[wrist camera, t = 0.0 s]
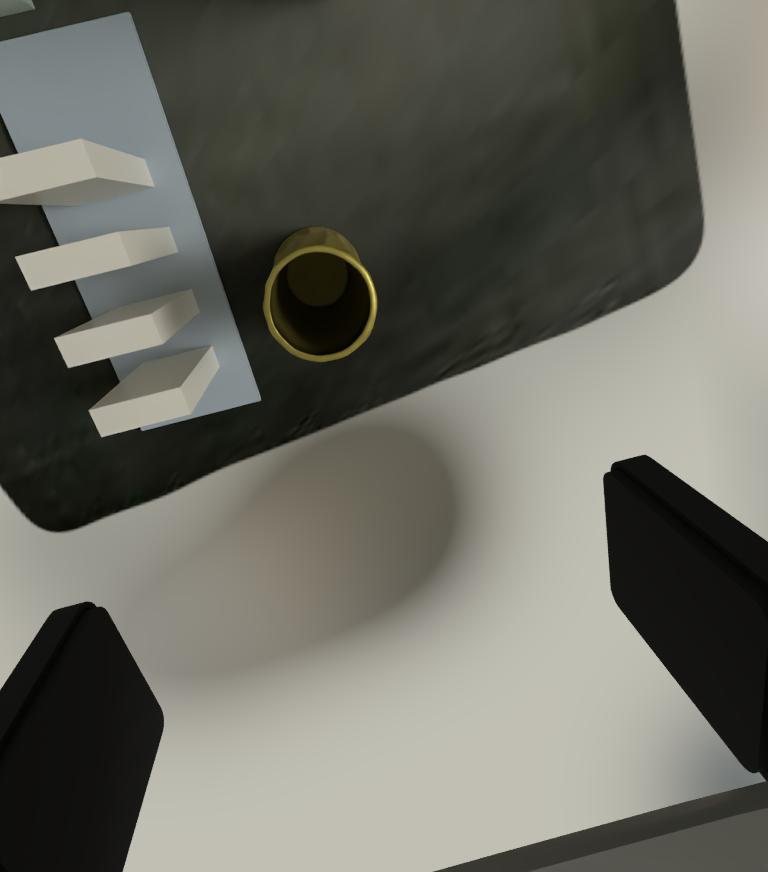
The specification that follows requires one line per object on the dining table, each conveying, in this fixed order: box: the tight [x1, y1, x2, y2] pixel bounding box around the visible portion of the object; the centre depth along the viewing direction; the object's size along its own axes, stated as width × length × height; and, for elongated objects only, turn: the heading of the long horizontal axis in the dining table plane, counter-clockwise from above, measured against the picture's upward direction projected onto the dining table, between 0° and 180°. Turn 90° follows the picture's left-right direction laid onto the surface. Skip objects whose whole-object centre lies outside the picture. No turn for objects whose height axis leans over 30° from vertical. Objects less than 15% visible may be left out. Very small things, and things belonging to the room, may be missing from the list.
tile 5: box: [89, 345, 220, 437], centre depth 34 cm, size 2×5×10 cm, turn 103°
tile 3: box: [15, 227, 178, 291], centre depth 31 cm, size 2×5×10 cm, turn 103°
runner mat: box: [0, 12, 261, 431], centre depth 35 cm, size 24×9×1 cm, turn 13°
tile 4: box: [54, 289, 200, 368], centre depth 32 cm, size 2×5×10 cm, turn 103°
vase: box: [263, 227, 377, 362], centre depth 31 cm, size 6×6×14 cm
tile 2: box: [0, 139, 154, 206], centre depth 29 cm, size 2×5×10 cm, turn 103°
